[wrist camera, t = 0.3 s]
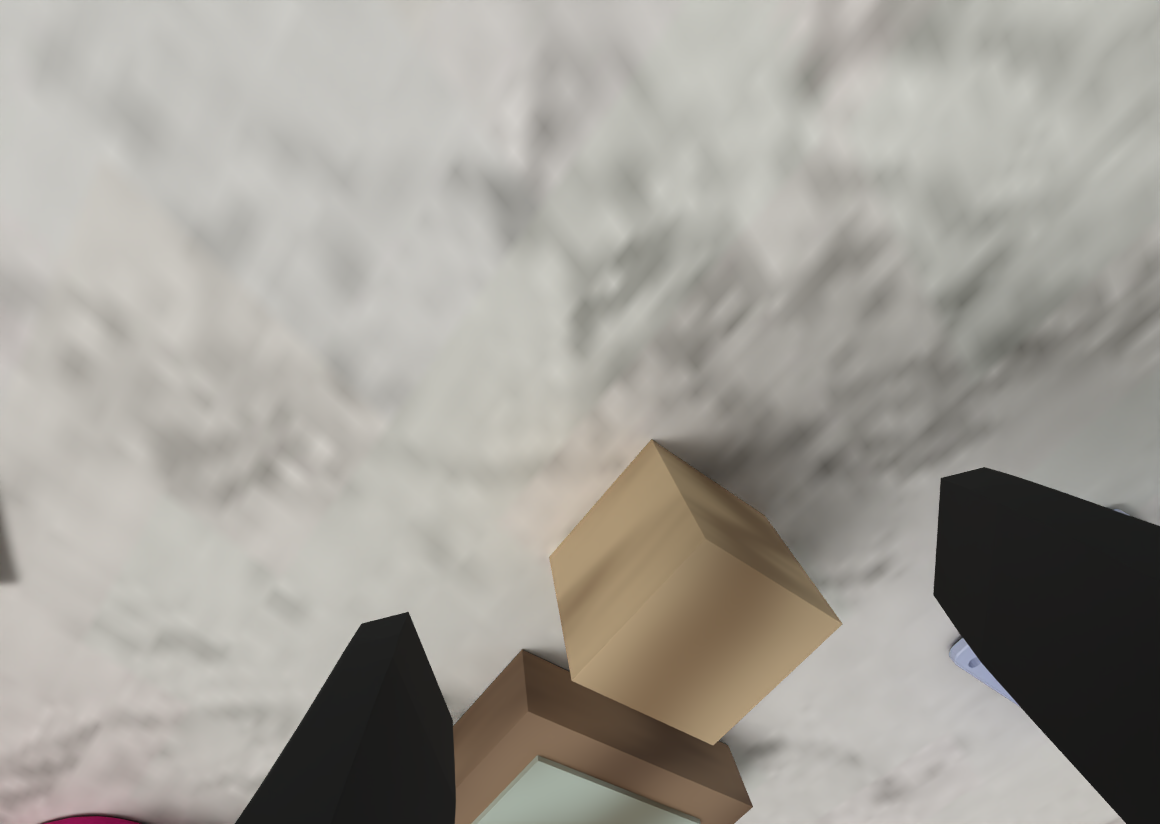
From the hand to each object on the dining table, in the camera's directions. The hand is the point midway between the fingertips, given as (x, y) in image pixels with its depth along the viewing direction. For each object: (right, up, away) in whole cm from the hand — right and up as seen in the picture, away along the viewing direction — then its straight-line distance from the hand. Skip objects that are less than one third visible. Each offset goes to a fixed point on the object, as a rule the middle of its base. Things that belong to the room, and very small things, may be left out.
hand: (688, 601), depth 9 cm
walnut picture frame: (-3, -12, +16) cm, 20 cm away
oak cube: (+1, -1, +12) cm, 12 cm away
